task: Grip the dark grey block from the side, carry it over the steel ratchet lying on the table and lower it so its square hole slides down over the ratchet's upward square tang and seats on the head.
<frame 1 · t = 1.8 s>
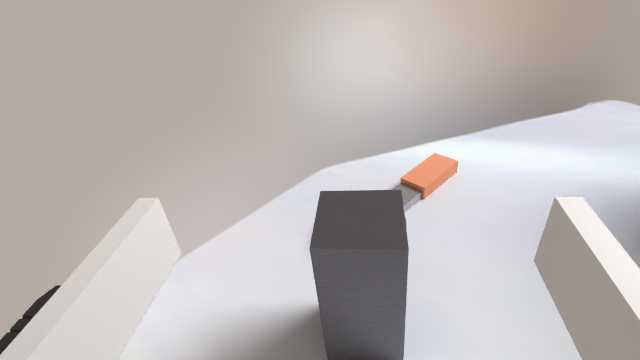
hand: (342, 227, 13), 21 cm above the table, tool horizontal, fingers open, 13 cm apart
dark grey block: (365, 330, 32), on the table
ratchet: (366, 230, 42), on the table
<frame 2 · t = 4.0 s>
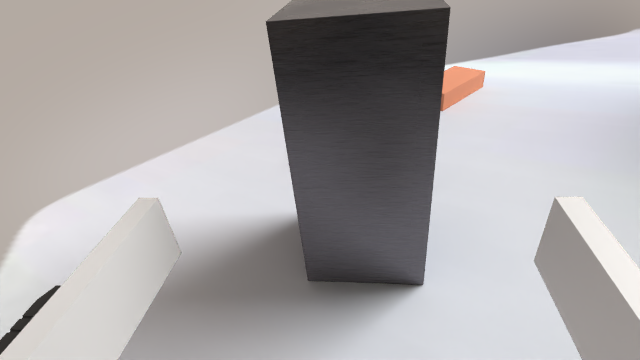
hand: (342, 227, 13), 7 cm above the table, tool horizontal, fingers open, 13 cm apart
dark grey block: (365, 242, 21), on the table
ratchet: (368, 140, 32), on the table
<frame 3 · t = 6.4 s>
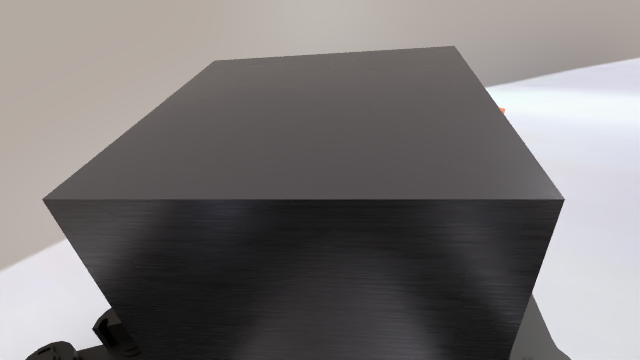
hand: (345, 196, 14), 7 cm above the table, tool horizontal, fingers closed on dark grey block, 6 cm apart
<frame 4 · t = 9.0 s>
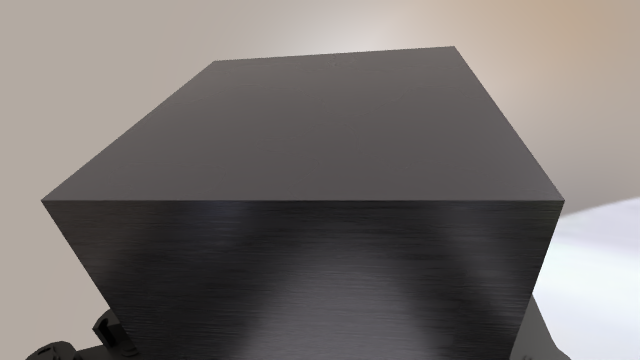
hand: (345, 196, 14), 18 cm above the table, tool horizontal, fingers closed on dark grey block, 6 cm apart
when the fingers open (10 cm above the table, at t = 11.4 s): dark grey block drops 2 cm, resting on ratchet.
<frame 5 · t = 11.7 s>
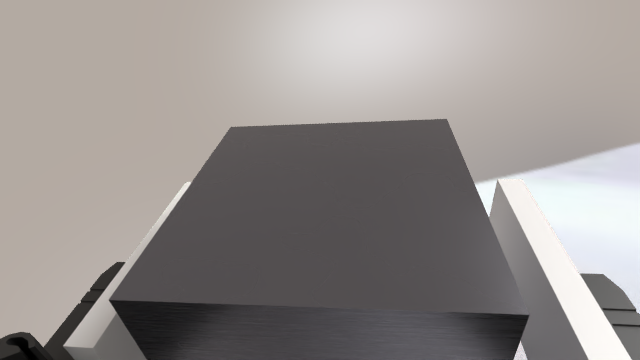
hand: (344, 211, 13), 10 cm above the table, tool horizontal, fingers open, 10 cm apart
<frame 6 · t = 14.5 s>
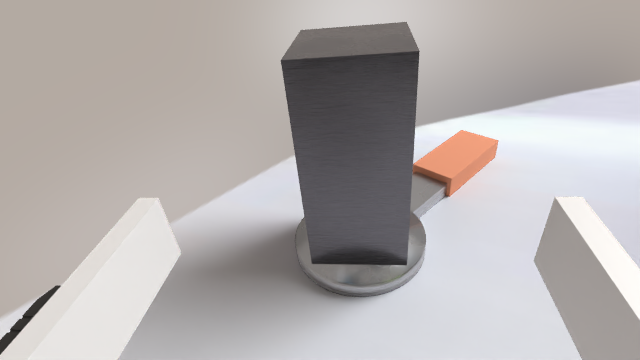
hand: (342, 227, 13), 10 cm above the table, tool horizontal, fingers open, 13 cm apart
dark grey block: (359, 232, 25), point 1 cm above the table, touching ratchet
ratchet: (359, 245, 26), on the table, touching dark grey block
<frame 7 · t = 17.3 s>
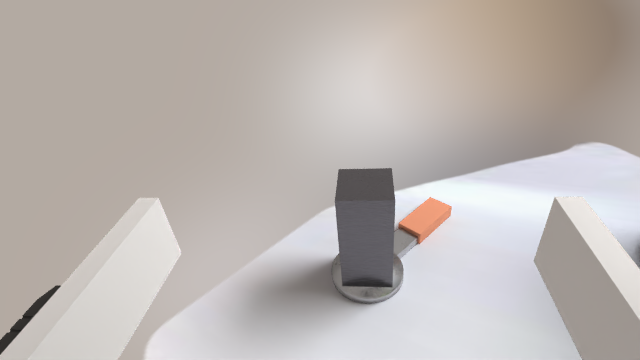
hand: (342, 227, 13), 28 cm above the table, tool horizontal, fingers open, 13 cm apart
dark grey block: (367, 267, 46), point 1 cm above the table, touching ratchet
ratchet: (367, 274, 47), on the table, touching dark grey block
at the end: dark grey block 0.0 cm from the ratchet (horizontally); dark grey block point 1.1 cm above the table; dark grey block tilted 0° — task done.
